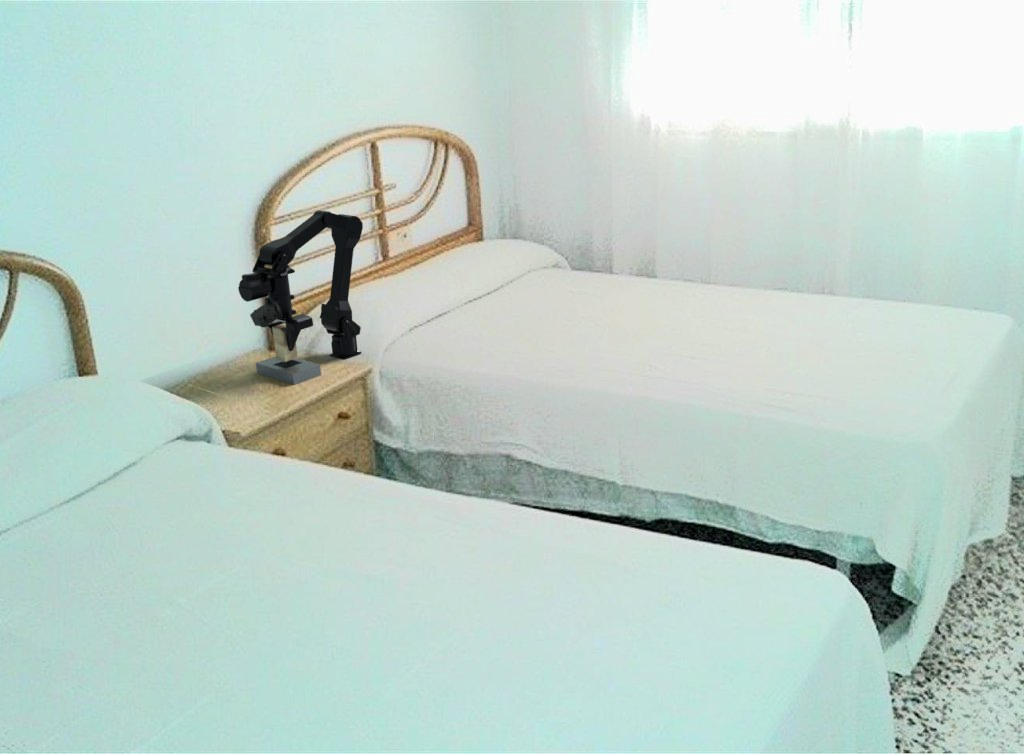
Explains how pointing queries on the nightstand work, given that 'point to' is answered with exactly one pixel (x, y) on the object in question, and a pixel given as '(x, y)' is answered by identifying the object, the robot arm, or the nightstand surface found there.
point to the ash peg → (282, 344)
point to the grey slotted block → (288, 370)
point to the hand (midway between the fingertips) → (286, 349)
